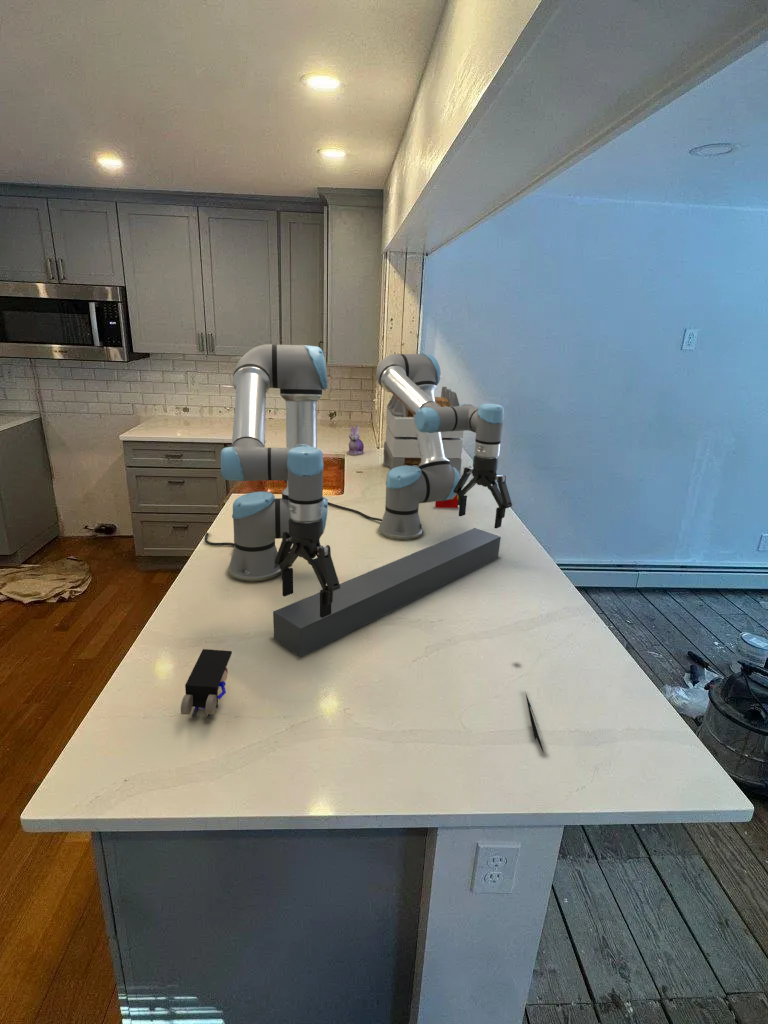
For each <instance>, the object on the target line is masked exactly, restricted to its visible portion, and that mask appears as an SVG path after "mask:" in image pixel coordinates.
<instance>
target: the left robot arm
mask: <svg viewBox="0 0 768 1024" xmlns="http://www.w3.org/2000/svg"><path fill="white" fill-rule="evenodd" d="M324 354H325V353H324V351H323V350H322V348H321V347H319V346H315V345H308V344H272V343H270V344H269V343H266V344H261V345H258V346H255V347H253V348H252V349H250V350H248V351H247V352H246V353H244V355H243V356H242V357H241V358H240V359H239V361H238V362H237V364H235V368H234V370H233V373H232V385H233V388H234V389H235V398H234V399H235V400H234V411H233V426H232V437H231V446H228V447H223V448H222V450H221V451H220V473H221V477H222V478H223V479H224V480H226V481H231V482H232V481H234V482H259V481H262V482H263V481H273V482H274V481H279V482H280V481H282V482H285V481H287V483H286V487H285V488H284V489H283V490H282V491H281V498H280V497H279V498H276V497H275V496H276V495H274V493H273V492H271V491H253V492H249V493H245V494H242V495H240V496H238V497H237V498H236V499H235V500H234V501H233V503H232V514H231V517H232V521H233V522H232V523H233V524H232V525H233V542H212V541H209V539H208V537H209V532H206V533H205V535H204V543H206V544H207V545H210V546H231V547H234V548H233V551H232V554H231V558H230V560H229V565H228V571H229V572H228V573H229V575H230V577H232V578H233V579H235V580H238V581H241V582H247V583H248V582H249V583H255V582H265V581H268V580H272V579H274V578H276V577H278V576H279V575H280V579H281V585H282V586H281V592H282V593H281V594H282V597H287V596H291V595H293V594H294V568H293V564H294V563H295V562H296V561H297V559H298V558H302V559H304V560H305V561H307V563H308V565H310V566H311V567H312V570H313V572H314V574H315V576H316V579H317V580H318V581H317V582H318V583H319V585H320V587H321V589H320V590H319V592H320V617H321V618H323V617H325V616H328V615H330V614H331V603H332V602H333V591H335V590H337V589H340V584H341V583H340V581H339V578H338V575H337V572H336V568H335V565H334V561H333V558H332V553H331V551H332V550H331V546H330V545H329V544H326V545H321V541H320V540H321V537H322V536H323V535H324V533H325V530H326V525H327V519H328V507H329V506H328V505H329V504H328V502H329V500H328V498H327V497H325V496H323V494H324V493H323V492H324V490H323V489H324V468H325V465H324V454H323V451H322V450H321V449H320V448H318V401H319V400H320V399H321V398H322V397H323V391H325V390H327V389H328V374H327V373H328V372H327V366H326V359H325V355H324ZM270 389H279V395H280V397H281V398H282V399H283V400H284V401H285V429H286V431H285V432H286V433H285V436H286V447H266V413H267V412H266V409H267V407H266V406H267V393H268V391H269V390H270ZM276 539H281V542H280V544H279V548H277V547H276V546H277V545H276Z"/></svg>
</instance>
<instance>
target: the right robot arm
mask: <svg viewBox="0 0 768 1024" xmlns="http://www.w3.org/2000/svg"><path fill="white" fill-rule="evenodd" d="M438 361H439V360H437V358H436V357H435V356H433V355H431V354H428V353H427V354H425V353H392V354H389V355H387V356H385V357H384V358H383V359H381V360H380V362H379V364H378V365H377V367H376V373H375V375H376V381H377V383H378V384H379V386H380V387H381V388H382V389H383V390H384V391H385V392H387V393H390V394H392V396H393V395H394V396H395V397H396V398H397V399H398V400H399V401H400V402H401V403H402V404H403V405H404V406H405V407H406V408H407V409H408V410H409V411H410V412H411V413H412V414H413V417H414V423H415V429H416V434H417V440H418V446H419V452H420V457H421V463H420V464H419V466H407V465H404V466H399V467H395V468H393V469H391V470H390V469H389V470H388V472H387V475H386V479H385V504H384V505H385V507H384V508H385V509H384V513H383V515H382V518H378V517H373V516H369V515H367V514H365V513H363V512H362V511H359V510H356V509H353V508H350V507H346V506H342V505H339V504H336V503H332V502H330V501H328V505H329V506H332V507H335V508H338V509H341V510H345V511H349V512H353V513H356V514H359V515H360V516H362V517H364V518H367V519H369V520H372V521H378V522H379V526H378V533H379V534H380V535H381V536H382V537H385V538H387V539H389V540H395V541H410V540H415V539H418V538H420V537H421V536H422V535H423V525H422V523H421V518H420V515H419V507H420V506H419V505H420V504H425V503H426V504H427V503H434V502H435V501H445V500H450V499H452V498H454V497H455V496H456V495H457V494H458V517H461V518H462V517H464V516H466V511H467V501H468V495H467V493H468V492H469V491H470V490H471V489H472V488H474V487H475V485H477V486H482V487H484V488H487V489H488V490H489V491H490V493H491V495H492V496H493V499H494V501H495V503H496V504H497V506H498V507H496V509H495V517H494V525H493V527H494V529H495V530H496V529H499V528H501V527H502V523H503V519H504V518H505V517H506V511H507V510H506V509H509V508H511V507H513V502H512V499H511V495H510V493H509V492H510V491H509V489H508V485H507V476H506V475H505V474H503V475H499V474H498V473H497V471H498V467H499V460H500V458H499V456H500V451H501V442H502V433H503V426H504V421H505V419H504V415H505V409H504V407H503V406H502V405H500V404H496V403H481V404H480V405H478V406H475V405H473V404H469V403H468V404H467V403H461V404H459V406H456V407H440V406H439V405H438V404H437V403H436V402H435V399H434V397H435V392H436V390H437V389H438V387H437V386H438V385H439V383H440V382H441V375H442V374H441V373H442V371H441V366H440V363H439V362H438ZM447 431H466V432H467V431H468V432H473V433H475V440H474V441H475V442H474V451H473V453H474V456H473V460H472V466H471V465H468V466H466V467H463V473H462V475H461V474H460V475H459V472H458V471H457V469H456V468H454V467H451V464H450V460H448V459H447V458H445V455H444V449H443V444H442V438H441V432H447ZM472 467H473V468H472ZM471 475H472V478H471V479H470V480H469V481H468V479H469V478H470V476H471ZM467 481H468V483H467ZM284 482H285V483H286V484H287V480H286V481H284ZM466 483H467V484H466ZM465 484H466V485H465Z"/></svg>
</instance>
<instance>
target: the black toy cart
mask: <svg viewBox="0 0 768 1024" xmlns="http://www.w3.org/2000/svg"><path fill="white" fill-rule="evenodd" d="M232 653H233V652H232V650H224V649H223V650H222V649H210V648H209V649H208V648H202V650H201V652H200V653H199V656H198V658H197V660H196V662H195V664H194V665H193V667H192V670H191V672H190V675H189V676H188V678H187V681H186V683H185V685H184V688H185V694H184V696H183V697H182V699H181V704H180V714H181V715H190V714H191V712H192V709H193V708H194V709H193V712H192V714H191V718H192V719H193V720H194V719H195V718H197V716H198V713H199V709H204V713H205V715H206V719H207V720H209V719H210V718H211V717H212V715H214V714H215V712H216V710H217V709H218V708H219V702H220V700H221V699H222V698H223V697H224V696H225V695H226V693H227V691H226V681H227V679H228V675H229V671H228V668H227V666H228V664H229V662H230V658H231V656H232ZM219 688H221V692H220V693H219Z"/></svg>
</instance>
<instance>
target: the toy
mask: <svg viewBox="0 0 768 1024" xmlns="http://www.w3.org/2000/svg"><path fill="white" fill-rule="evenodd" d="M434 508H435V509H459V505H458V494H457V495H456V496H455V497H454V498H452V499H450V500H445V501H435V503H434Z"/></svg>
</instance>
